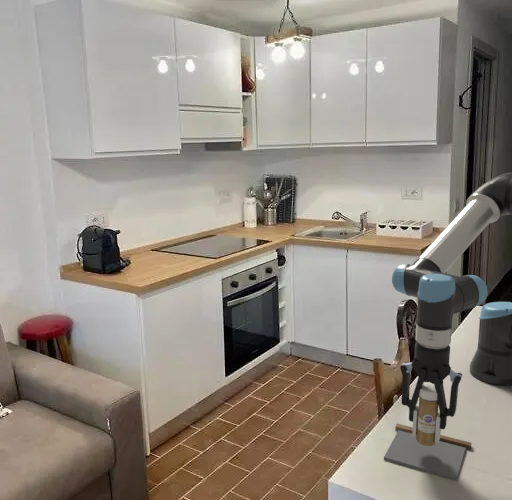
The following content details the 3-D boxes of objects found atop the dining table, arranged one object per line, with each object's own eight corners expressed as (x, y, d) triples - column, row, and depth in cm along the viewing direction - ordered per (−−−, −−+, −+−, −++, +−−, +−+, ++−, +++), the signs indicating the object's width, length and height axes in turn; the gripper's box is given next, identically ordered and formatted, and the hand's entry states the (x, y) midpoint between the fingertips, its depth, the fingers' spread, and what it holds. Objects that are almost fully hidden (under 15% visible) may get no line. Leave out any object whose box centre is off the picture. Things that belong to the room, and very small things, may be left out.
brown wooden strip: (396, 427, 135) (397, 423, 135) (471, 446, 126) (471, 442, 126) (395, 429, 134) (395, 426, 134) (470, 449, 125) (470, 445, 125)
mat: (398, 432, 133) (398, 430, 133) (465, 450, 125) (465, 447, 125) (383, 459, 122) (383, 457, 122) (456, 480, 114) (456, 478, 114)
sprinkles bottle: (419, 446, 120) (422, 393, 117) (413, 435, 125) (416, 383, 122) (439, 446, 120) (443, 393, 117) (432, 435, 125) (436, 383, 122)
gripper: (389, 341, 118) (384, 434, 123) (471, 356, 110) (463, 455, 115) (398, 331, 125) (393, 419, 130) (476, 344, 116) (468, 439, 121)
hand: (426, 436), depth 122 cm, fingers closed on sprinkles bottle, 4 cm apart
